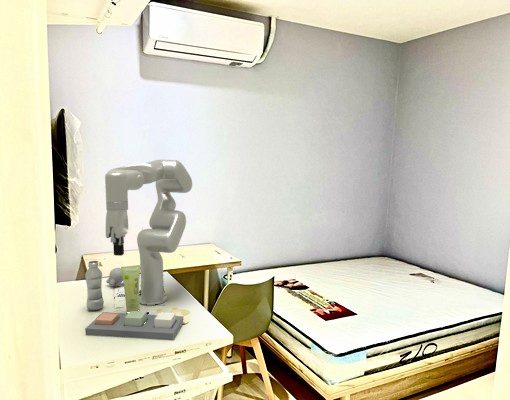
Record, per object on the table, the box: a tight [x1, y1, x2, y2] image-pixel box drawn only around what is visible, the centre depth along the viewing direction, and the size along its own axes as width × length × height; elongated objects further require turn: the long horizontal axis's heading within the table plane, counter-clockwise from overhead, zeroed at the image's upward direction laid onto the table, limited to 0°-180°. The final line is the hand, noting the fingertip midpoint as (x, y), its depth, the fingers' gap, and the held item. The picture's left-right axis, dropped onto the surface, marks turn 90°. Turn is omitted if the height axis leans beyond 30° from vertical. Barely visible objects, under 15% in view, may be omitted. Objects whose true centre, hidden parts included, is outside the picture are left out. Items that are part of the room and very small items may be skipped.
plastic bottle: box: [84, 260, 105, 311], centre depth 168 cm, size 6×7×20 cm
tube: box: [120, 264, 141, 313], centre depth 165 cm, size 6×5×20 cm
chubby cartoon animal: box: [106, 267, 123, 288], centre depth 197 cm, size 7×12×8 cm, turn 127°
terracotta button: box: [95, 312, 119, 325], centre depth 153 cm, size 6×6×4 cm
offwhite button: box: [154, 311, 176, 329], centre depth 151 cm, size 6×6×4 cm
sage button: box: [125, 310, 148, 327], centre depth 152 cm, size 6×6×4 cm
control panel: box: [84, 311, 184, 341], centre depth 152 cm, size 14×32×2 cm, turn 85°
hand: (118, 254), depth 152 cm, fingers closed
